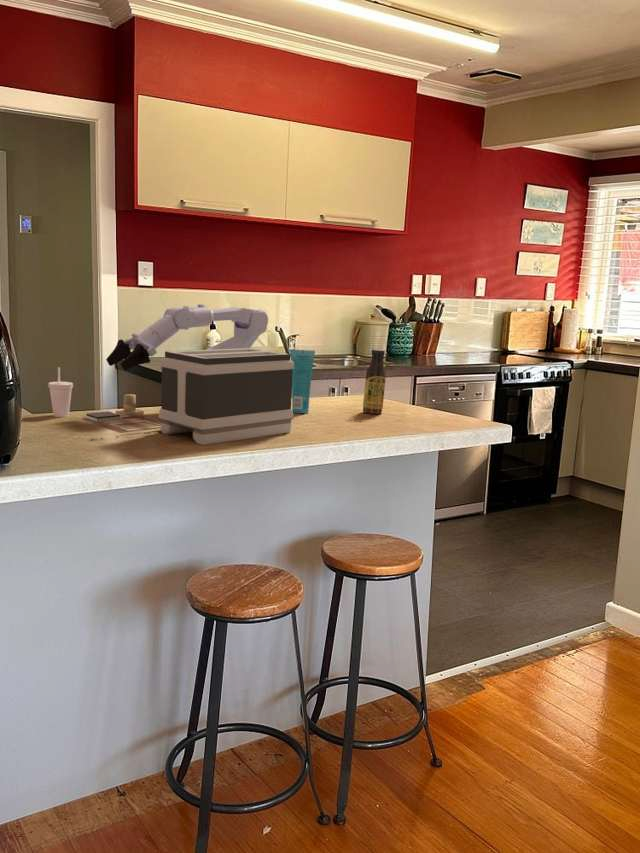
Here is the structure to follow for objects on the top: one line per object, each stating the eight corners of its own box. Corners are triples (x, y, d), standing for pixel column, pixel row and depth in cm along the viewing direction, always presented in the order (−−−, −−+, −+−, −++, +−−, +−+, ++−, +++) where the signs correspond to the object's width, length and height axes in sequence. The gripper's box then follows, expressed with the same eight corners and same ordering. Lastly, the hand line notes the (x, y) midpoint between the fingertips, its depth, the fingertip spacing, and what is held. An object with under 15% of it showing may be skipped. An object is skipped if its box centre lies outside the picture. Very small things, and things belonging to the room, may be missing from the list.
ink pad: (109, 415, 215) (109, 410, 214) (122, 420, 210) (122, 415, 210) (83, 418, 210) (83, 413, 209) (96, 422, 205) (96, 417, 204)
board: (135, 415, 222) (135, 412, 221) (179, 428, 206) (179, 425, 206) (77, 421, 210) (77, 417, 209) (120, 435, 194) (120, 432, 194)
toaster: (303, 431, 211) (307, 353, 207) (201, 446, 187) (203, 359, 183) (259, 420, 224) (261, 347, 220) (157, 433, 200) (158, 351, 196)
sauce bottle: (365, 414, 241) (369, 350, 237) (360, 411, 247) (363, 348, 243) (386, 414, 243) (390, 350, 239) (379, 411, 249) (383, 348, 245)
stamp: (134, 414, 219) (134, 393, 218) (143, 416, 216) (143, 395, 215) (115, 416, 215) (115, 394, 214) (124, 418, 212) (124, 397, 210)
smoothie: (43, 418, 211) (42, 366, 208) (61, 415, 216) (60, 365, 214) (61, 421, 208) (60, 369, 205) (78, 418, 213) (78, 367, 211)
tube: (310, 411, 242) (313, 349, 239) (313, 414, 238) (316, 351, 234) (287, 410, 241) (289, 348, 237) (288, 413, 236) (291, 350, 233)
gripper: (133, 321, 217) (95, 348, 211) (161, 327, 207) (121, 356, 201) (145, 342, 221) (107, 369, 215) (173, 349, 211) (134, 378, 205)
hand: (115, 365), depth 208 cm, fingers open, 7 cm apart
